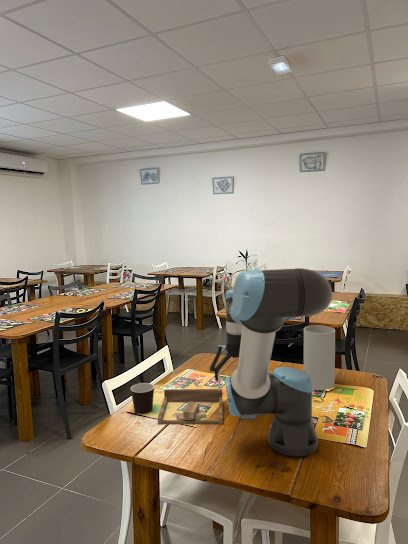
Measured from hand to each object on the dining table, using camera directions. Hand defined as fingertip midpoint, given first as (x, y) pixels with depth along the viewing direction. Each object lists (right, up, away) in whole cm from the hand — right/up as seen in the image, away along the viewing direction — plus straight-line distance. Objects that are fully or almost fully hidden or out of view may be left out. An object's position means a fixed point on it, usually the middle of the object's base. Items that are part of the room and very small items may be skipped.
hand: (238, 388), depth 145 cm
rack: (-17, -10, 0) cm, 19 cm away
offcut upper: (-17, -8, -5) cm, 19 cm away
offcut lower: (-17, -11, -4) cm, 20 cm away
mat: (0, -9, +2) cm, 9 cm away
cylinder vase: (+36, -6, +22) cm, 43 cm away
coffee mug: (-35, -10, +4) cm, 36 cm away
